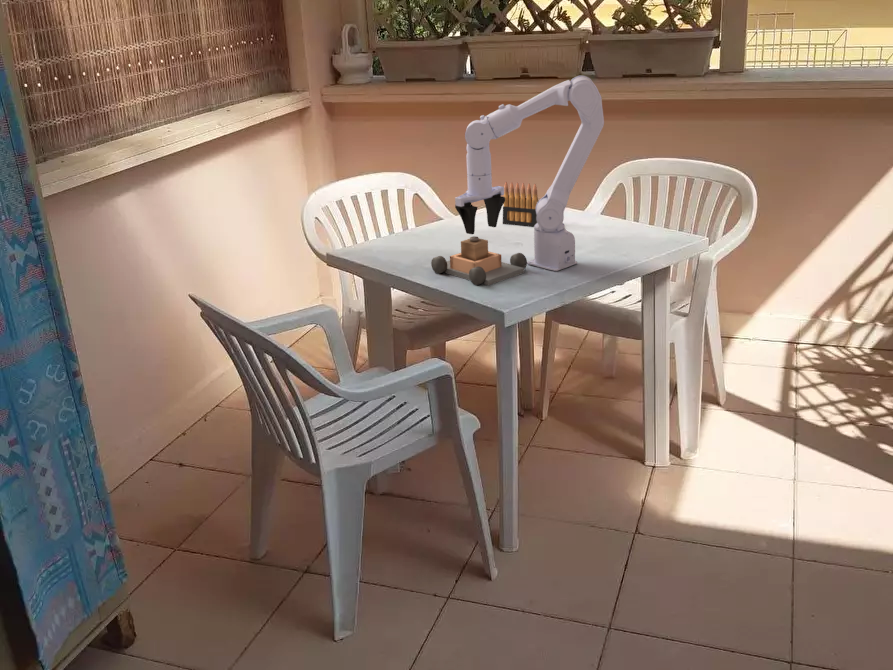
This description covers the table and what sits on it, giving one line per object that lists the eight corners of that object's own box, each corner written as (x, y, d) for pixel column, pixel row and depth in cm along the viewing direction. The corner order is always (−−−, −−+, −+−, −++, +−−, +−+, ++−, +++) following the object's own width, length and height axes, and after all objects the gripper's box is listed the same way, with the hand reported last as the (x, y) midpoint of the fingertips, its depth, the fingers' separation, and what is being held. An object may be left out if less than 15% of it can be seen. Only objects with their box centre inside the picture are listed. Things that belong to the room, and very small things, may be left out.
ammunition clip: (502, 224, 249) (501, 182, 245) (505, 222, 251) (504, 180, 246) (537, 227, 244) (536, 184, 240) (539, 225, 246) (539, 183, 241)
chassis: (528, 271, 209) (528, 254, 207) (482, 287, 199) (482, 269, 198) (475, 256, 221) (475, 240, 219) (430, 271, 212) (429, 254, 210)
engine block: (488, 266, 209) (487, 237, 206) (475, 271, 206) (474, 241, 204) (474, 263, 212) (473, 234, 209) (461, 267, 209) (460, 238, 207)
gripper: (488, 166, 213) (490, 221, 218) (445, 177, 204) (447, 233, 209) (510, 169, 208) (511, 225, 213) (466, 180, 199) (468, 238, 204)
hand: (481, 230), depth 211 cm, fingers open, 7 cm apart
